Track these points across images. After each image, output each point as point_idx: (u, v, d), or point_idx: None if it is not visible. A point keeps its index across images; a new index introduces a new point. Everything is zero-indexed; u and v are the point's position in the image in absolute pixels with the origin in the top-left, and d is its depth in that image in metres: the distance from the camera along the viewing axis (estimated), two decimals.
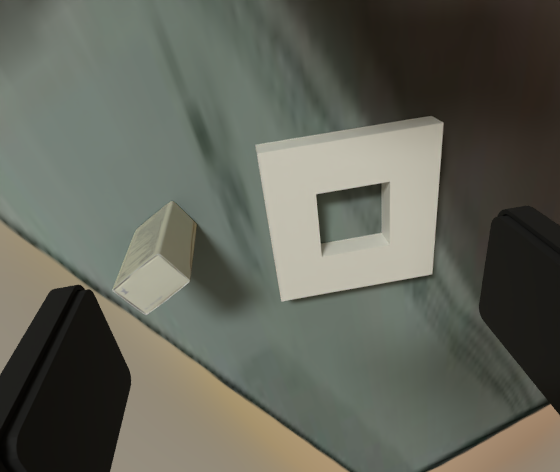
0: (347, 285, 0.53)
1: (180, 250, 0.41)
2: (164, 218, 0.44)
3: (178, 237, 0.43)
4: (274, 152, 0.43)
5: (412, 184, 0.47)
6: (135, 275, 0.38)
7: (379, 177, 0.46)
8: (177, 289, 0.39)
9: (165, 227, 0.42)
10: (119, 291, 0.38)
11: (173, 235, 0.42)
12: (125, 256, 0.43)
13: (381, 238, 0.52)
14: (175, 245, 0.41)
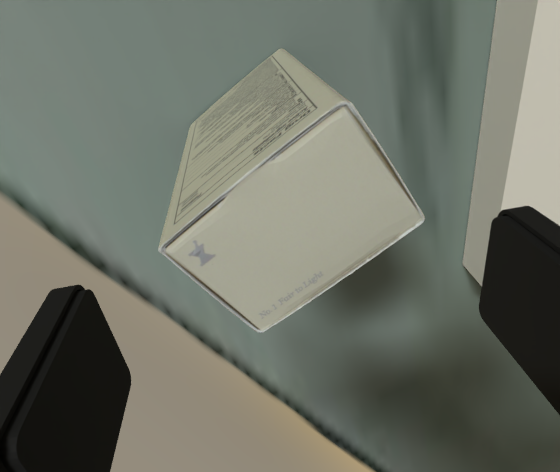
0: None
1: None
2: (284, 64, 0.16)
3: None
4: None
5: None
6: (246, 193, 0.10)
7: None
8: (375, 249, 0.12)
9: (306, 68, 0.14)
10: (183, 255, 0.11)
11: None
12: (180, 166, 0.16)
13: None
14: None
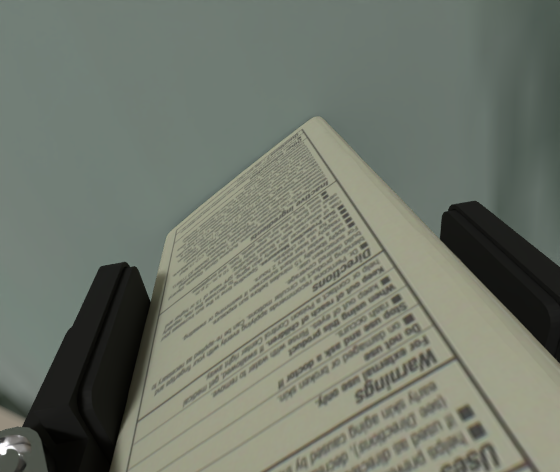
0: None
1: None
2: (340, 172, 0.08)
3: None
4: None
5: None
6: None
7: None
8: None
9: (413, 217, 0.06)
10: None
11: None
12: (131, 384, 0.08)
13: None
14: None
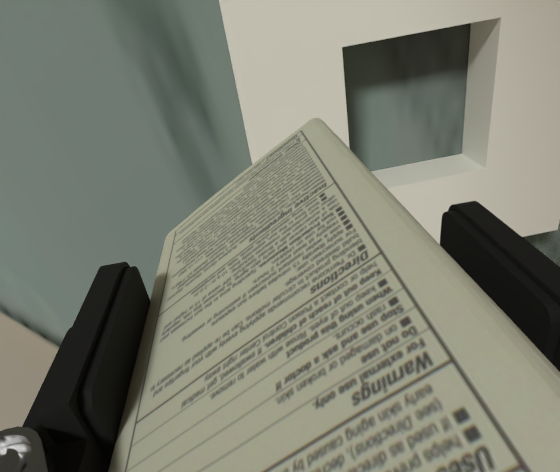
0: None
1: None
2: (339, 174, 0.08)
3: None
4: None
5: (546, 25, 0.22)
6: None
7: (479, 5, 0.21)
8: None
9: (411, 220, 0.06)
10: None
11: None
12: (130, 386, 0.08)
13: (464, 161, 0.27)
14: None
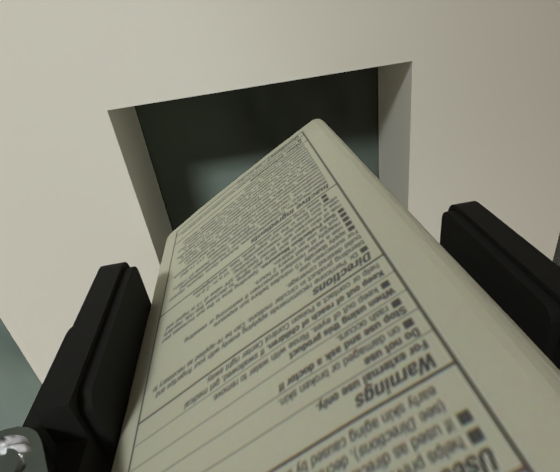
0: None
1: None
2: (340, 175, 0.08)
3: None
4: None
5: (497, 76, 0.12)
6: None
7: (368, 39, 0.11)
8: None
9: (413, 221, 0.06)
10: None
11: None
12: (132, 387, 0.08)
13: None
14: None
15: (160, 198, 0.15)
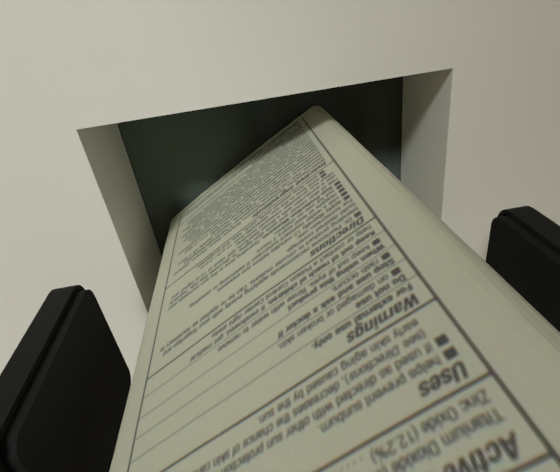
0: None
1: None
2: (337, 153, 0.09)
3: None
4: None
5: (555, 86, 0.10)
6: None
7: (400, 41, 0.09)
8: None
9: (403, 187, 0.06)
10: None
11: None
12: (140, 350, 0.08)
13: None
14: None
15: (148, 225, 0.13)
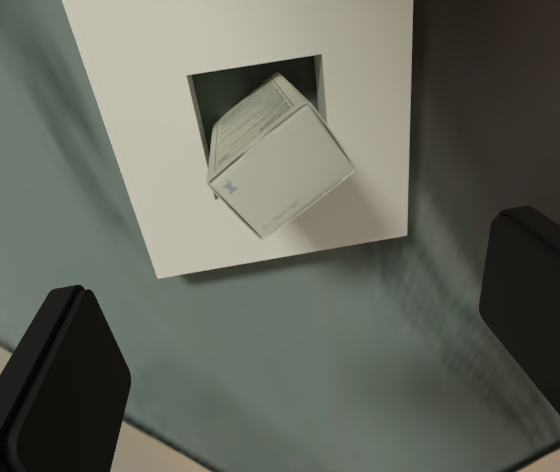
0: (266, 252, 0.32)
1: None
2: (278, 83, 0.25)
3: None
4: None
5: (362, 61, 0.26)
6: (255, 151, 0.19)
7: (301, 44, 0.25)
8: (328, 187, 0.20)
9: (291, 85, 0.23)
10: (220, 187, 0.19)
11: None
12: (211, 147, 0.24)
13: None
14: None
15: (202, 127, 0.29)
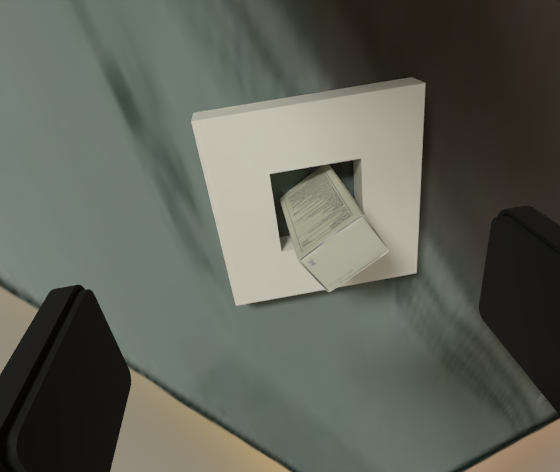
0: (314, 286, 0.44)
1: None
2: (332, 180, 0.37)
3: None
4: (213, 120, 0.34)
5: (388, 162, 0.38)
6: (329, 242, 0.31)
7: (347, 153, 0.37)
8: (372, 260, 0.32)
9: (344, 188, 0.35)
10: (306, 262, 0.31)
11: (353, 198, 0.35)
12: (288, 224, 0.36)
13: None
14: None
15: None
